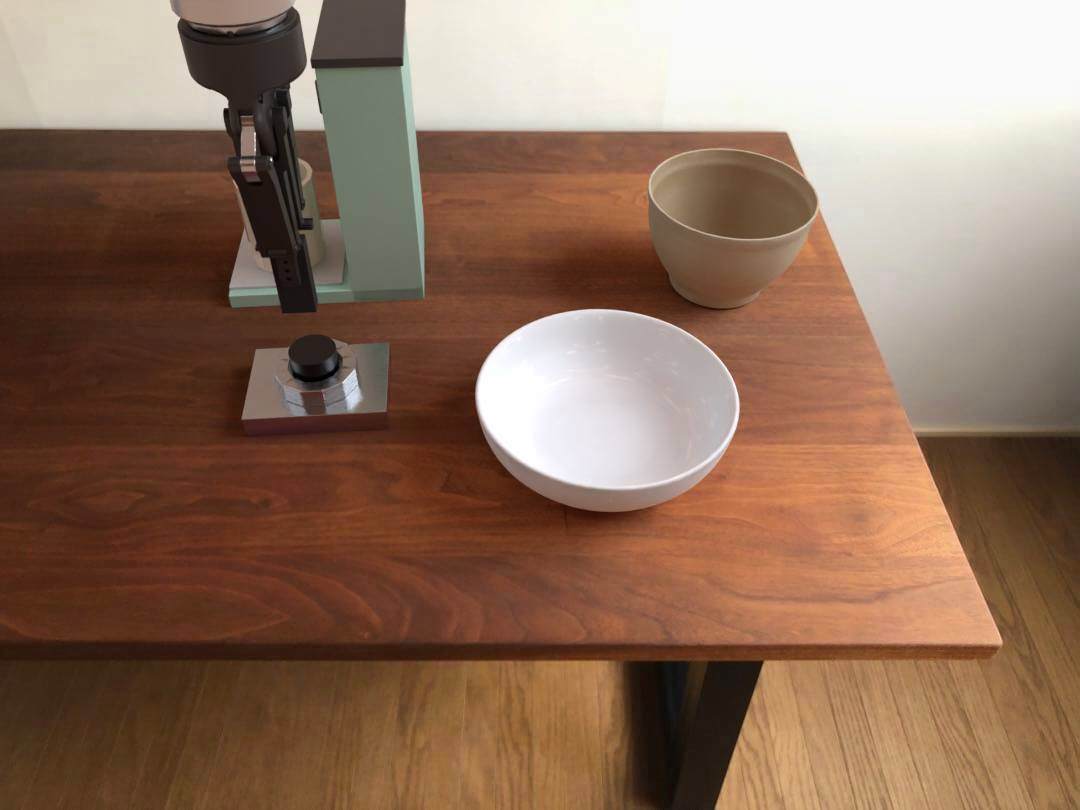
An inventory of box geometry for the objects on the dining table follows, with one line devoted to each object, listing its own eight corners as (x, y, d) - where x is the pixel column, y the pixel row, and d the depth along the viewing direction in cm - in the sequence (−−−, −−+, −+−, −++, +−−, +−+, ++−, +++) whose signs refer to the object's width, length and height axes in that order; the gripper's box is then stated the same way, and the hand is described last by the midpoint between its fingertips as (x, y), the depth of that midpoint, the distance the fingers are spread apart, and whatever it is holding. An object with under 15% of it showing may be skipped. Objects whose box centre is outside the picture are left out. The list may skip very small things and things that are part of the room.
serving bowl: (752, 540, 69) (769, 482, 64) (481, 553, 68) (477, 495, 63) (699, 360, 84) (710, 302, 79) (476, 369, 82) (473, 310, 78)
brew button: (289, 384, 75) (285, 366, 74) (294, 353, 78) (290, 335, 77) (337, 381, 76) (334, 363, 74) (341, 350, 79) (337, 332, 77)
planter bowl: (647, 333, 86) (659, 239, 79) (630, 238, 98) (639, 147, 90) (811, 332, 87) (839, 238, 79) (776, 238, 98) (797, 147, 91)
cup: (248, 275, 89) (227, 196, 83) (258, 234, 94) (239, 157, 88) (323, 272, 90) (308, 193, 83) (329, 231, 95) (315, 154, 89)
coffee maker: (231, 309, 88) (159, 63, 71) (250, 233, 98) (190, -1, 80) (426, 300, 90) (402, 56, 72) (426, 226, 99) (405, -5, 82)
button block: (246, 437, 76) (236, 404, 73) (260, 366, 82) (251, 333, 80) (389, 429, 77) (383, 396, 74) (391, 360, 83) (387, 326, 80)
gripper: (286, 54, 52) (341, 358, 68) (307, -28, 61) (351, 258, 77) (153, 56, 51) (241, 362, 68) (194, -26, 60) (263, 261, 77)
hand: (300, 306), depth 73 cm, fingers closed
